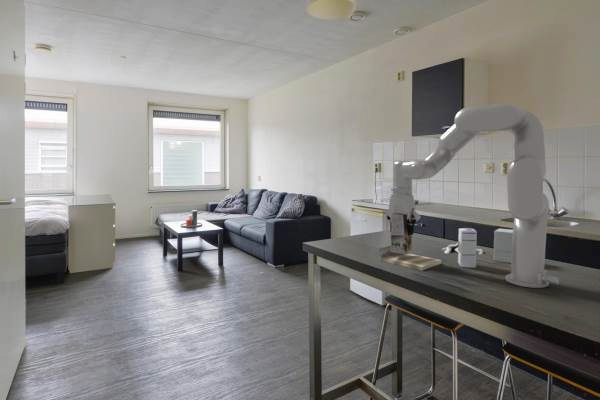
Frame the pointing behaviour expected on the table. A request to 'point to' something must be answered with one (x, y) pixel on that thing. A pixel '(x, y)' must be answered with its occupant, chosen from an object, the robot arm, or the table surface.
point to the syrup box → (467, 247)
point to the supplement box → (503, 245)
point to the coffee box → (400, 234)
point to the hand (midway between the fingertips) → (401, 233)
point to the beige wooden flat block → (406, 259)
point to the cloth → (455, 249)
